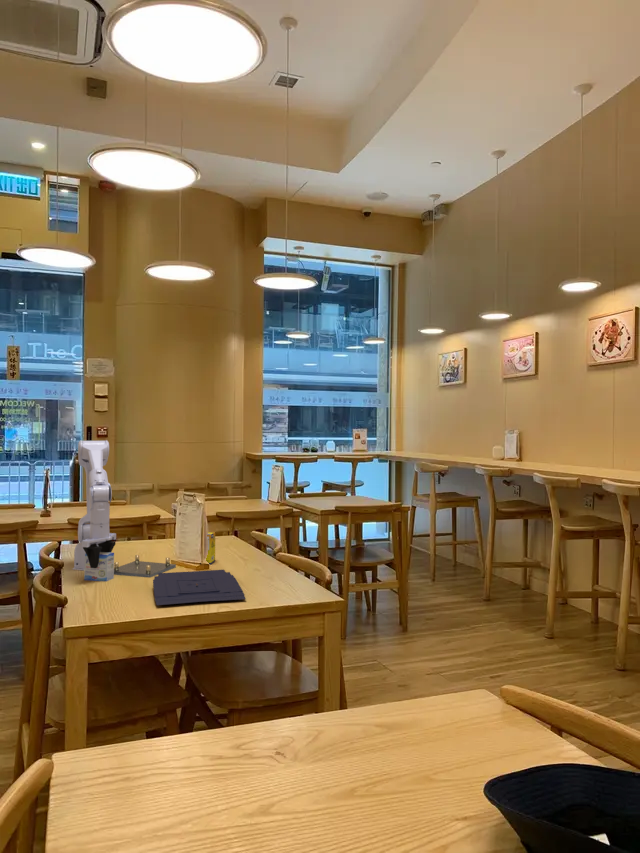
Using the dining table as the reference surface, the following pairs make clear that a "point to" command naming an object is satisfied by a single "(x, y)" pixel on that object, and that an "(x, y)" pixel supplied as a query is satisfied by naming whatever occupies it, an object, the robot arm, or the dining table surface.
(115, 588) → the dining table surface
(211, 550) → the supplement box
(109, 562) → the medicine box
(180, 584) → the dark blue flat block
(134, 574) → the plate
